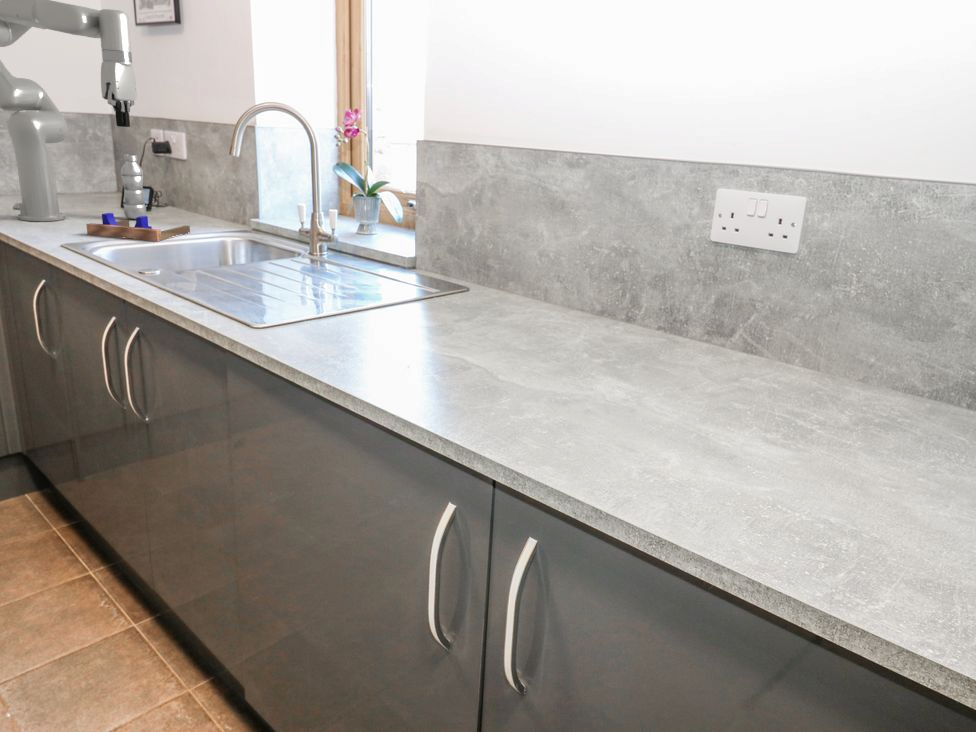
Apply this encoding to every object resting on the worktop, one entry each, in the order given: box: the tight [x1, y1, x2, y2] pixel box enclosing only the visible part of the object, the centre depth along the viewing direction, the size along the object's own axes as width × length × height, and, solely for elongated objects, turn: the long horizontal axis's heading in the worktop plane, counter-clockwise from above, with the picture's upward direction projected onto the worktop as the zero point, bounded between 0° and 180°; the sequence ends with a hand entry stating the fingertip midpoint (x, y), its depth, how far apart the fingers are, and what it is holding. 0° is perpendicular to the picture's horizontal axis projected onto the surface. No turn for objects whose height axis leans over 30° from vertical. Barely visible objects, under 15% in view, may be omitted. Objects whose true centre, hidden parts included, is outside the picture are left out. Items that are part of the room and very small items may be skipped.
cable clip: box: [101, 212, 153, 229], centre depth 210 cm, size 12×4×6 cm, turn 81°
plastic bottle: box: [120, 153, 148, 221], centre depth 235 cm, size 6×7×20 cm
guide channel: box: [85, 219, 191, 242], centre depth 214 cm, size 21×17×3 cm
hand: (123, 126), depth 214 cm, fingers closed
